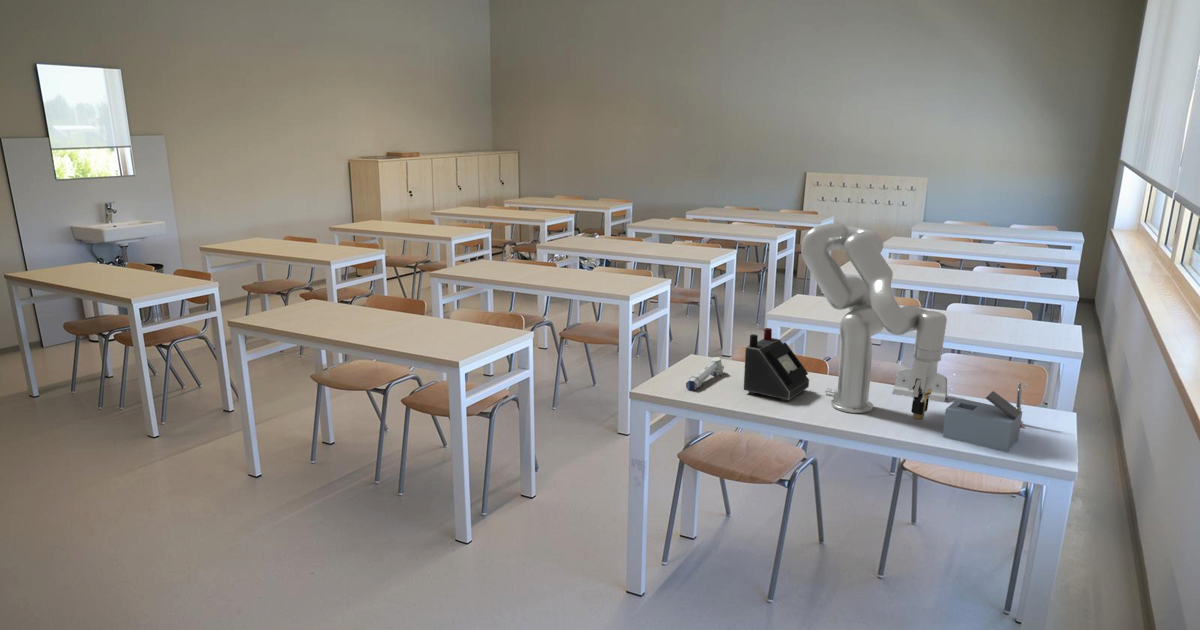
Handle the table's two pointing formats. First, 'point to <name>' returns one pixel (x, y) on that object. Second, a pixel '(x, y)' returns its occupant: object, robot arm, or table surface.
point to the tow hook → (1019, 398)
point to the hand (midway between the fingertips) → (919, 411)
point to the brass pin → (921, 417)
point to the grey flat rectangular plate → (1003, 405)
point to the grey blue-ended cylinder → (705, 374)
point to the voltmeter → (773, 368)
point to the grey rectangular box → (981, 425)
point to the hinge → (902, 389)
